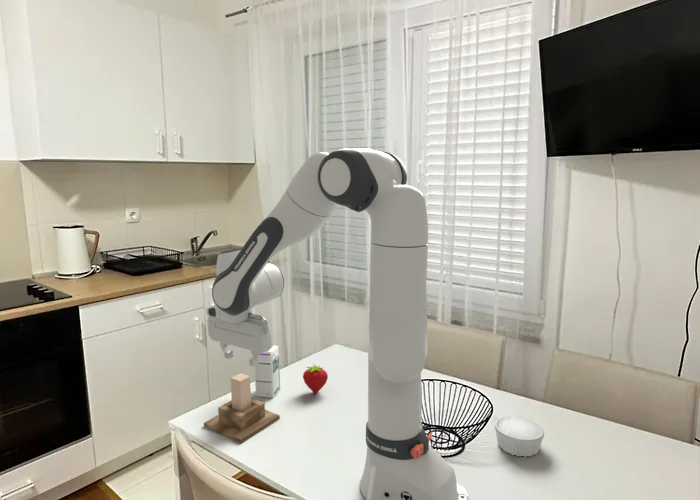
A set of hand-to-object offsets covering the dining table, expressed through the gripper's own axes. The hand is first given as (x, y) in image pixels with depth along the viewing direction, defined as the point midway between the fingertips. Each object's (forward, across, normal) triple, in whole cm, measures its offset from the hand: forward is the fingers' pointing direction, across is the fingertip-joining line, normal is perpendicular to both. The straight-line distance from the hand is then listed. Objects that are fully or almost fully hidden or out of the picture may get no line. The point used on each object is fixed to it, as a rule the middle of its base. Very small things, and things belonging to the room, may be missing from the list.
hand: (241, 361), depth 123 cm
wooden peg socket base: (+17, +1, 0) cm, 17 cm away
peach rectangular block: (+16, +1, 0) cm, 16 cm away
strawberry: (+18, -5, -24) cm, 30 cm away
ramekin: (+20, -63, -30) cm, 72 cm away
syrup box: (+18, +7, -16) cm, 24 cm away
